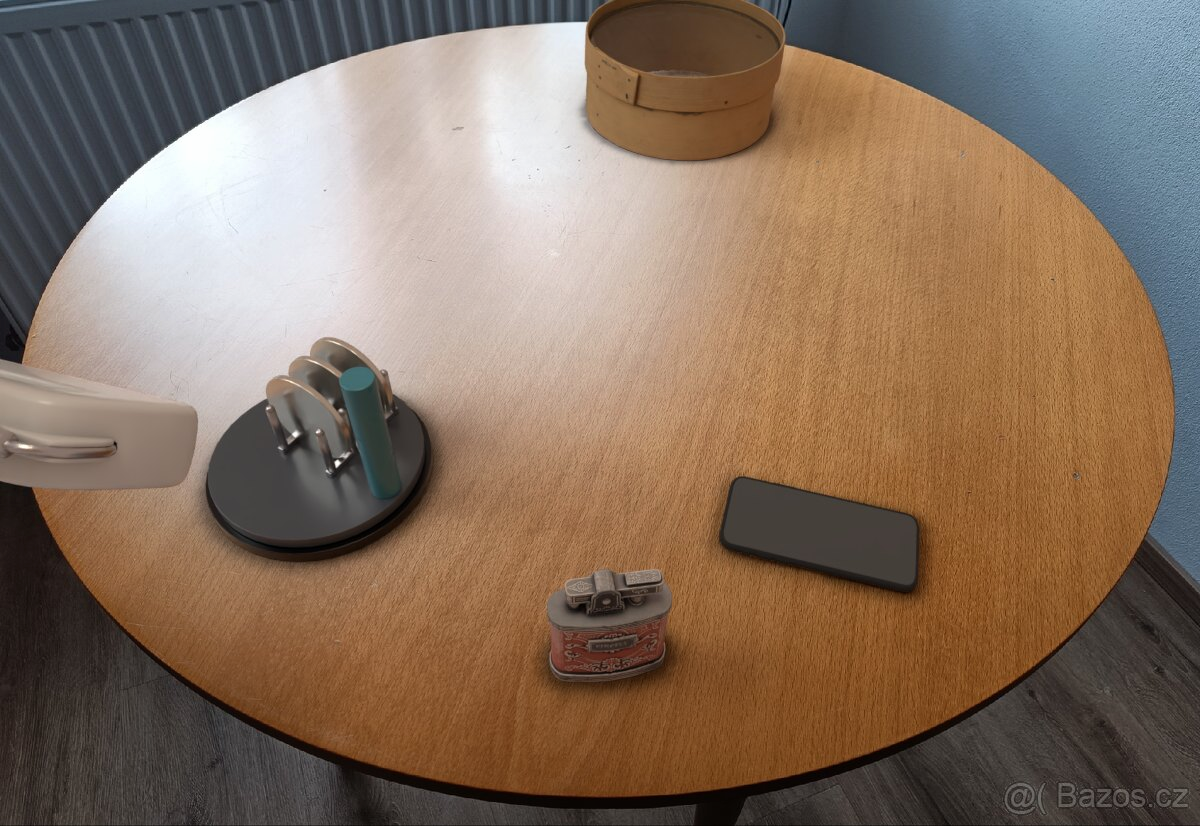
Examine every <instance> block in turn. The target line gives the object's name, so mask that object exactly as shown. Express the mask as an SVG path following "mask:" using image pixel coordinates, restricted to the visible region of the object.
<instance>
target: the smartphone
mask: <svg viewBox="0 0 1200 826" xmlns="http://www.w3.org/2000/svg"><path fill="white" fill-rule="evenodd" d="M722 515H723V516H722V519H721V525H720V529H719V532H718V535H719V536H718V538H719V539H718V540H719V544H720V545H721V546H722V547H723V548H724V549H726V550H727V551H730V552H734V553H739V554H741V555H745V556H752V557H755V558H758V559H761V560H766V561H772V562H774V563H777V564H782V565H787V566H793V567H797V568H801V569H806V570H810V571H812V572H813V571H814V572H817V573H822V574H827V575H830V576H835V577H839V578H843V579H846V580H850V581H851V580H852V581H855V582H859V583H863V584H867V585H871V586H877V587H880V588H885V589H889V590H892V591H896V592H897V591H898V592H901V593H910V592H912V591H913V590H914V589H915V588H916V587H917V585H918V581H919V558H920V556H919V554H920V551H919V550H920V525H919V522H918V520H917V518H916V517H915V516H914V515H912V514H911V513H907V512H903V511H900V510H899V511H898V510H894V509H890V508H885V507H881V506H877V505H872V504H868V503H863V502H860V501H854V500H851V499H846V498H841V497H837V496H833V495H828V494H824V493H820V492H815V491H810V490H807V489H803V488H798V487H796V486H790V485H787V484H782V483H778V482H772V481H767V480H763V479H758V478H753V477H750V476H744V475H740V476H737V477H735V478H734V479H733V480H732V481H731V483H730V484H729V488H728V493H727V497H726V501H725V508H724V511H723V514H722Z"/></svg>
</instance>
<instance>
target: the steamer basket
mask: <svg viewBox="0 0 1200 826" xmlns="http://www.w3.org/2000/svg"><path fill="white" fill-rule="evenodd" d="M786 38H787V37H786V30H785V28H784V26H783V24H781V22H780V21H779V19H778V18H777V17H776V16H775V15H773V14H772V13H771V12H769V11H768V10H767V9H765V8H762V7H760V6H758V5H757V4H755V3H752V2H750V1H748V0H609V1H607V2H605V3H603V4H601V5H600V6H598V7H597V8H596V9H595V10H594V11H593V13H592V14H591V15H590V16H589V18H588V20H587V23H586V26H585V38H584V39H585V40H584V68H585V71H586V85H585V86H586V87H585V111H586V116H587V120H588V121H589V123H590V125H591V126H592V127H593V129H594V130H595V131H596V132H597V133H598V134H599V135H600V136H601V137H603V138H604V139H606V140H608V141H609V142H611V143H612V144H614V145H616V146H618V147H620V148H622V149H625V150H627V151H629V152H632V153H635V154H639V155H642V156H646V157H651V158H656V159H660V160H661V159H662V160H673V161H703V160H704V161H705V160H710V159H717V158H721V157H725V156H729V155H732V154H735V153H738V152H740V151H743V150H745V149H746V148H749V147H750V146H752V145H753V144H755V143H756V142H757V141H758V140H759V139H761V137H762V136H763V135H764V134H765V133H766V131H767V129H768V126H769V124H770V117H771V111H772V105H773V100H774V94H775V88H776V84H777V83H778V81H779V79H780V77H781V71H782V64H783V60H784V52H785V45H786ZM681 72H683V73H682V75H681ZM666 73H668V74H666ZM674 73H675V75H674ZM692 74H696V76H694V75H692ZM685 75H688V76H685Z"/></svg>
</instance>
